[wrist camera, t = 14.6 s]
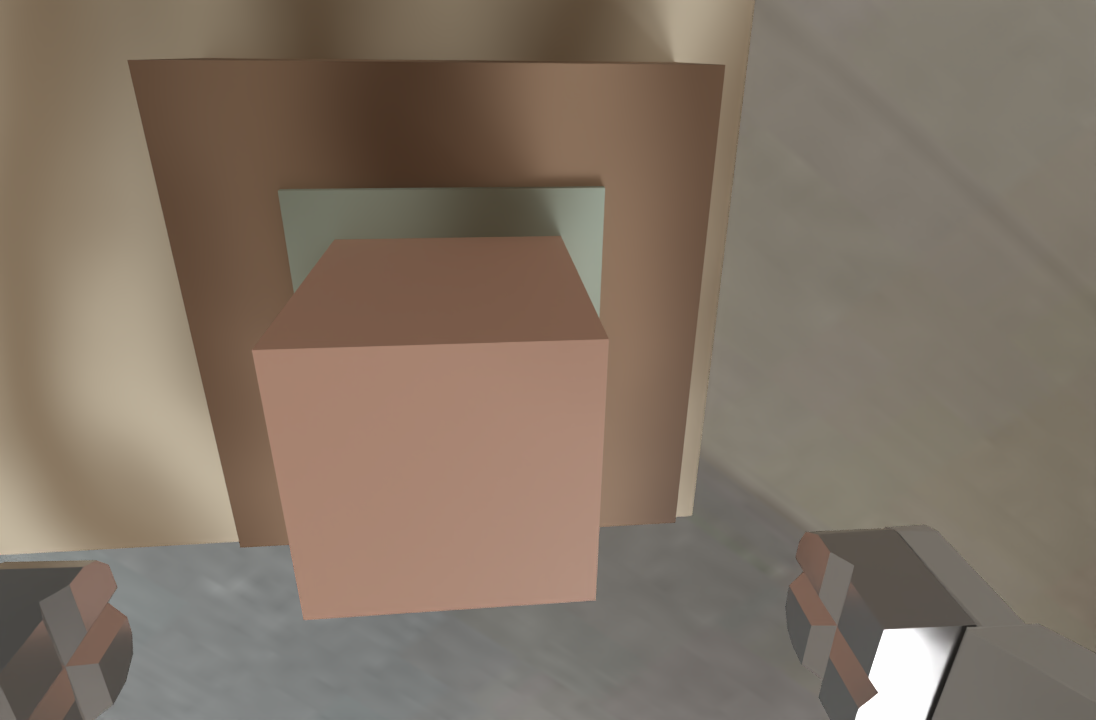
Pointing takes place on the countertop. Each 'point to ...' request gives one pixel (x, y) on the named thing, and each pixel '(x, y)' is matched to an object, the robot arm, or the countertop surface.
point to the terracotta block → (438, 426)
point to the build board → (332, 224)
